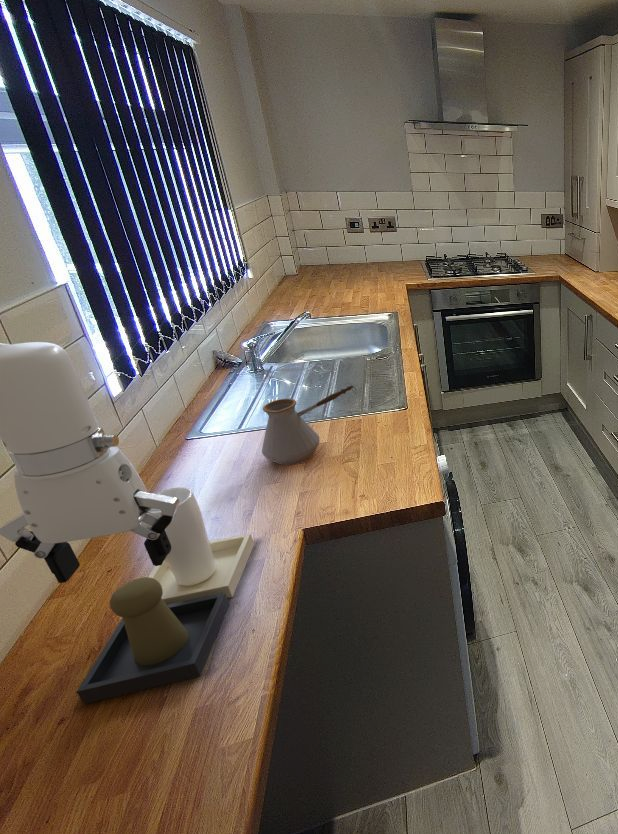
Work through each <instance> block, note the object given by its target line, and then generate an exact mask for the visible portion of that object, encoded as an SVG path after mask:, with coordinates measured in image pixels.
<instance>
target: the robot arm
mask: <svg viewBox="0 0 618 834" xmlns="http://www.w3.org/2000/svg"><path fill="white" fill-rule="evenodd" d="M0 440H1V441H2V443H3V445H4V447H5V449H6V450H7V453H8V454H9V456H10V458H11V460H12V462H13V465H14V466H15V468H16V469H15V471H14V473H13V479H14V486H15V491H16V496H17V500H18V502H19V505H20V508H21V510H22V513H21V514H19V515H17V516H15V517H14V518H12V519H10V520H8V521H7V522H6V523H5V524H3V525H2V526H1V527H0V535H1V536H2V537H3V538H5V539H7V540H9V541H10V542H13V543H14V545H15V547H17V548H19V549H21V550H22V549H23V550H24V551H28V552H31V553H33V556H34V558H36V559H40V560H41V559H44V561H45V563H46V565H47V566H48V569H49V570H50V572H51V573H52V574H53V575H54V577H55V579H56V580H57V582H58V584H63V583H67V582H68V581H69V580H70V579H71V578H72V576H73V575H74V574H75V573H76V572H77V570H78V569H79V567H80V566H81V563H80V561H79V559H78V557H77V556H76V553H75V552H74V550H73V547H72V546H71V544H70V543H69V542H74V541H81V540H86V539H87V540H88V539H93V538H99V537H105V536H112V535H118V534H124V533H128V532H132V533H135V534H136V535H139V536H141V537H143V538H145V540H144V541H143V546H144V548H145V550H146V552H147V555H148V557H149V559H150V561H151V564H152V566H154V567H155V566H160V565H162V563H163V561H164V560H165V558H166V556H167V555H168V554H169V553H170V551H171V544H170V541H169V539H168V537H167V534H166V532H165V529H166V527H167V526H168V525H169V524H170V523H171V521H172V519H173V518H174V516H175V515H176V511H177V508H178V504H179V499H178V498H174V497H169V496H164V495H158V494H155V493H152V492H149V491H148V489H147V487H146V486H145V483H144V482H143V480H142V478H141V476H140V475H139V473H138V471H137V469H136V468H135V467H134V465H133V464H132V462H131V461H130V459H128V457H127V456H126V455H125V454H124V453H123V451H122V450H121V449H120V448H119V447H118V446H119V443H120V439H119V437H118V435H116V434H113V435H109V434H106V433H105V432H104V430H103V427H101V426H100V424H99V421H98V419H97V417H96V415H95V413H94V410H93V407H92V405H91V403H90V400H89V399H88V396H87V394H86V391H85V390H84V387H83V385H82V383H81V380H80V377H79V376H78V373H77V371H76V369H75V367H74V364H73V361H72V359H71V357H70V356H69V354H68V352H67V351H66V350H65V349H64V348H63V346H60V345H58V344H56V343H53V342H46V341H29V342H20V343H19V342H18V343H13V344H12V343H4V342H3V343H2V342H0ZM152 508H155V509H159V510H161V512H162V513H161V517H158V516H156V515H154V514H152V513H150V512H148V511H149V510H151V509H152ZM142 521H143V522H145V523H147V524H149V525H151V526H152V527H149V526H147V525H145V524H143V523H142ZM27 526H29V528H30V530H29V529H28V528H26V527H27Z"/></svg>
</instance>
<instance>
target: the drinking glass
mask: <svg viewBox="0 0 618 834" xmlns="http://www.w3.org/2000/svg"><path fill="white" fill-rule="evenodd" d="M154 494H158V495H164V496H169V497H174V498H178V499H179V504H178V508H177V511H176V515H175V516H174V518H173V519H172V521H171V523H170V524H169V525H168V526H167V527H166V529H165V532H166V534H167V537H168V539H169V541H170V544H171V551H170V553H169V554H168V555H167V556H166V558H165V562H166V563H167V565H168V566H169V568H170V570H171V571H172V573H173V575H174V577H175V579H176V581H177V583H178V584H180V585H182V586H192V585H196V584H199V583H201V582H203V581H205V580H206V579H208V578H209V577H210V576H212V575H213V573H214V572H215V570H216V567H217V566H216V562H215V559H214V557H213V554H212V550H211V547H210V543H209V541H210V540H209V537H208V532H207V528H206V525H205V521H204V517H203V514H202V511H201V507H200V505H199V502H198V501H197V498H196V496H195V494H194V492H193V490H192V489H190V488H189V487H185V486H177V487H170V488H167V489H163V490H160V491H157V492H155V493H154ZM148 512H150V513H152V514H154V515H156V516H158V517H161V513H162V512H161V510H159V509H155V508H152V509H151V510H149V511H148ZM141 523H143V524H145V525H147V526H149V527H152V526H151V525H149V524H147V523H145V522H143V521H142V522H141Z"/></svg>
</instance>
